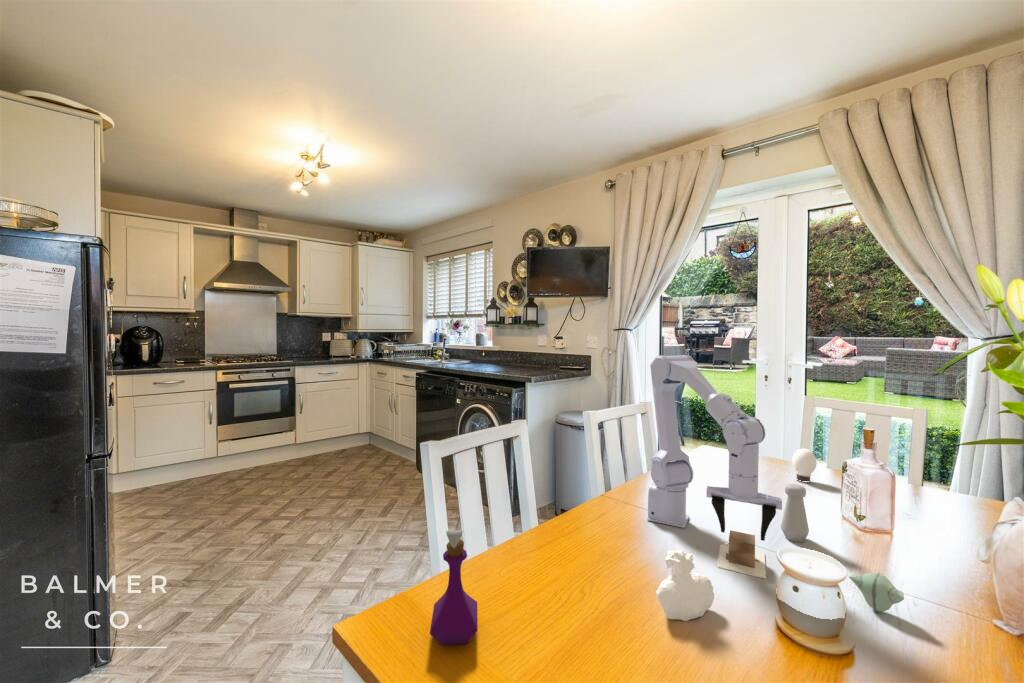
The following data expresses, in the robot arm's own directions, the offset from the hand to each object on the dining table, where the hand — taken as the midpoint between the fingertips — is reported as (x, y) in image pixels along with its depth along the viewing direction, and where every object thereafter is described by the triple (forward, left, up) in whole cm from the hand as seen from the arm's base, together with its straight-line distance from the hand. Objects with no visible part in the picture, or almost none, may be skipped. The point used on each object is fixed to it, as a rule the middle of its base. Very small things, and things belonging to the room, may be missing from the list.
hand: (742, 534), depth 96 cm
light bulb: (+17, +67, -6) cm, 69 cm away
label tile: (0, 0, -6) cm, 6 cm away
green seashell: (+22, -7, -6) cm, 24 cm away
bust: (-9, -24, -6) cm, 26 cm away
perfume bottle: (-41, -50, -6) cm, 65 cm away
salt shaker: (+11, +18, -6) cm, 22 cm away
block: (0, 0, -6) cm, 6 cm away
